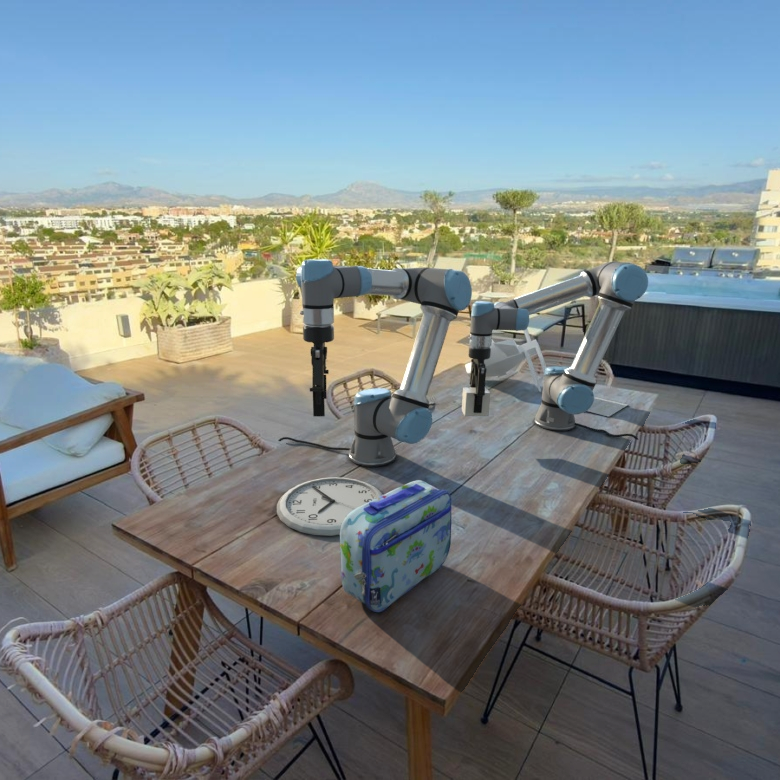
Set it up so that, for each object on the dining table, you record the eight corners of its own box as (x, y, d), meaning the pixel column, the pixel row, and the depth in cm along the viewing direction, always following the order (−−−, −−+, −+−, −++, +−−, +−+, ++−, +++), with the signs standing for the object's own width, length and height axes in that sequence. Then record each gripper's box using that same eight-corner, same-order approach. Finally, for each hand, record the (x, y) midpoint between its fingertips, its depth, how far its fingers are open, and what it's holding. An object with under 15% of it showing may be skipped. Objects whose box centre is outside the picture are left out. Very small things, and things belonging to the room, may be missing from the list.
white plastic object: (486, 420, 263) (466, 398, 238) (467, 347, 285) (447, 319, 261) (558, 397, 251) (544, 370, 226) (532, 322, 273) (517, 290, 248)
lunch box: (369, 626, 100) (370, 530, 93) (334, 598, 107) (332, 507, 101) (455, 567, 117) (460, 483, 111) (419, 547, 124) (423, 467, 118)
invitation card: (608, 416, 214) (573, 407, 224) (608, 416, 214) (573, 408, 224) (628, 404, 229) (594, 396, 238) (628, 405, 229) (594, 397, 238)
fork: (420, 411, 216) (420, 406, 216) (430, 400, 230) (431, 395, 230) (426, 412, 215) (426, 407, 215) (436, 401, 230) (436, 396, 229)
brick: (484, 410, 192) (486, 387, 190) (488, 416, 186) (490, 392, 184) (461, 410, 192) (463, 387, 189) (464, 416, 186) (466, 392, 183)
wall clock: (392, 527, 129) (268, 531, 127) (391, 533, 130) (269, 537, 127) (383, 473, 158) (282, 475, 155) (383, 478, 158) (282, 480, 156)
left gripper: (306, 316, 139) (308, 392, 145) (298, 334, 115) (301, 424, 122) (334, 316, 140) (335, 391, 146) (332, 334, 116) (334, 424, 122)
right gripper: (464, 340, 191) (460, 400, 198) (475, 353, 172) (470, 418, 179) (484, 340, 191) (479, 400, 198) (497, 353, 173) (492, 418, 180)
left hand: (320, 406), depth 134 cm, fingers open, 13 cm apart
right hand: (475, 408), depth 189 cm, fingers closed on brick, 6 cm apart
